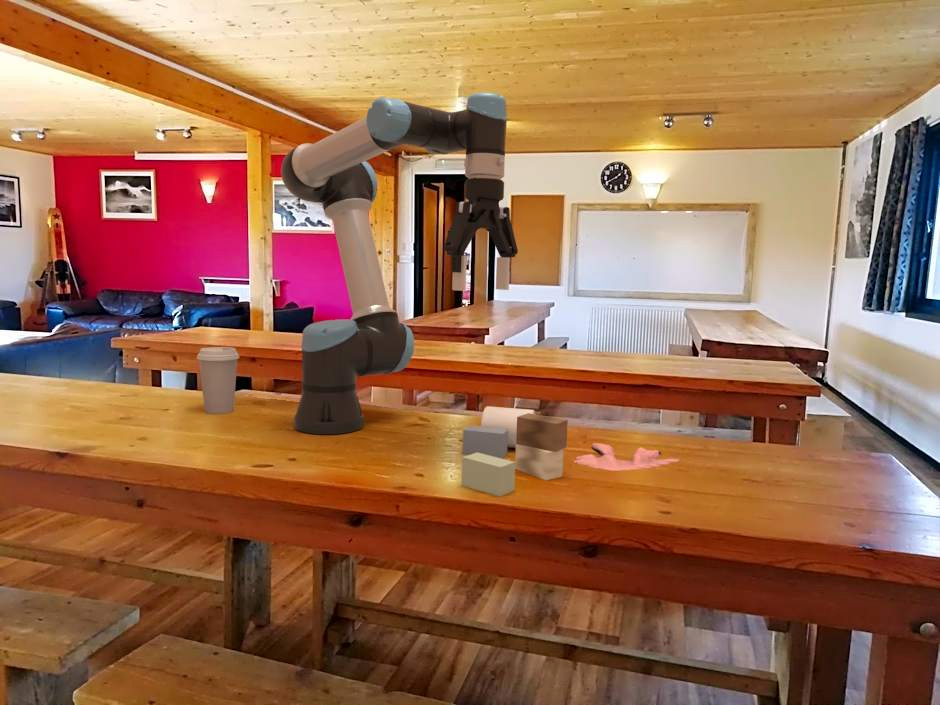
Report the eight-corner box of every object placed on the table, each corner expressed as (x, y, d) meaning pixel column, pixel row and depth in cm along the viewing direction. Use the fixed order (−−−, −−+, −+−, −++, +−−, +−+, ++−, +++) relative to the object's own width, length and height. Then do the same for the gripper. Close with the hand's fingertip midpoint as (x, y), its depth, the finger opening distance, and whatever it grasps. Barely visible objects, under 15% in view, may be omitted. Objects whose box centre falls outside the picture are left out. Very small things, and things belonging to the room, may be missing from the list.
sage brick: (461, 486, 114) (462, 457, 113) (476, 480, 117) (477, 452, 116) (499, 497, 109) (500, 467, 108) (514, 491, 112) (515, 462, 111)
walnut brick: (516, 444, 122) (517, 416, 121) (527, 439, 125) (528, 413, 125) (555, 452, 118) (557, 423, 117) (566, 447, 121) (567, 419, 120)
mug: (528, 454, 134) (530, 414, 133) (479, 449, 136) (480, 410, 135) (537, 439, 145) (539, 402, 144) (492, 435, 148) (493, 399, 147)
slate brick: (462, 455, 132) (463, 429, 132) (468, 449, 136) (468, 425, 135) (502, 459, 130) (503, 433, 129) (507, 454, 134) (508, 429, 133)
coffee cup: (232, 416, 158) (230, 352, 156) (191, 414, 158) (189, 351, 156) (245, 407, 167) (245, 347, 166) (207, 406, 168) (206, 346, 166)
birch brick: (514, 469, 124) (516, 442, 123) (530, 465, 126) (531, 439, 126) (546, 480, 118) (547, 452, 117) (562, 476, 120) (563, 449, 119)
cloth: (562, 468, 127) (563, 455, 127) (584, 441, 148) (585, 430, 147) (676, 483, 120) (677, 470, 120) (682, 452, 141) (683, 441, 140)
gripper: (457, 169, 118) (454, 291, 121) (537, 185, 137) (533, 290, 140) (425, 172, 123) (423, 289, 126) (507, 186, 142) (503, 288, 145)
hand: (481, 290), depth 133 cm, fingers open, 13 cm apart
